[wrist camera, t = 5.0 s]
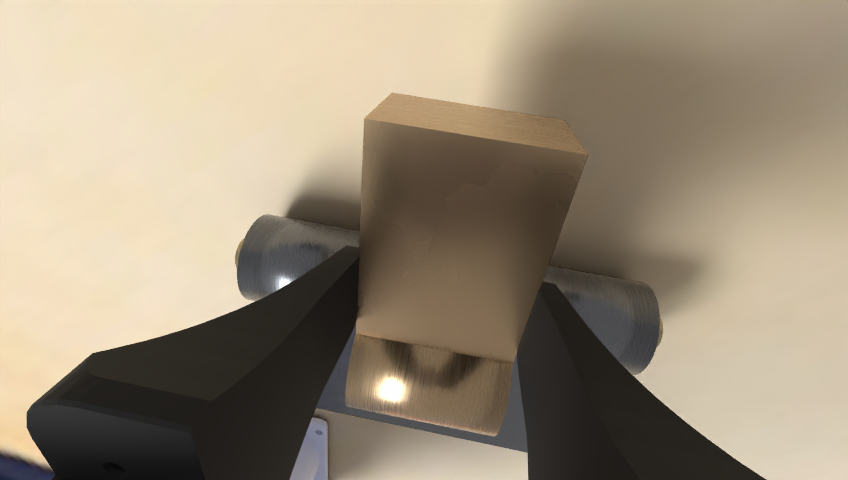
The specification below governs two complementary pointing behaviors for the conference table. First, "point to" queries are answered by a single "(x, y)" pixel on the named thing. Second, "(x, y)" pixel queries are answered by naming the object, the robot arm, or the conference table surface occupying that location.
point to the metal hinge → (591, 298)
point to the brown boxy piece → (453, 254)
